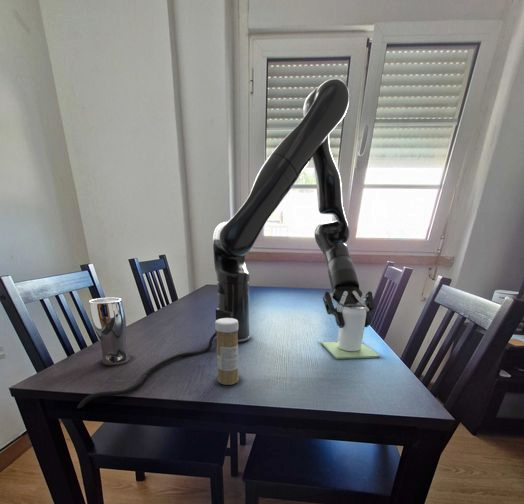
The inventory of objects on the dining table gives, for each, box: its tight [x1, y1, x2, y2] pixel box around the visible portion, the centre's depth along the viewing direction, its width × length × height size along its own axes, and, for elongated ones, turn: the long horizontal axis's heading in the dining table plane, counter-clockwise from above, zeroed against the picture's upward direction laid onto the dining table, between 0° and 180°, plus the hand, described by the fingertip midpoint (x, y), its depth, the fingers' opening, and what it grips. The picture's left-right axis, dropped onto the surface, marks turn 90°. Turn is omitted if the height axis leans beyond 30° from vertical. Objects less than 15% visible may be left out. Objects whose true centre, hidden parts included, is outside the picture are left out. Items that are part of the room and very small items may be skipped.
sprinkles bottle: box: [214, 318, 240, 386], centre depth 58 cm, size 5×5×13 cm
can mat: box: [321, 341, 381, 360], centre depth 79 cm, size 12×12×1 cm
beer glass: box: [88, 297, 131, 366], centre depth 67 cm, size 7×7×15 cm
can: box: [337, 303, 366, 352], centre depth 77 cm, size 6×6×12 cm
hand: (354, 326), depth 75 cm, fingers closed on can, 6 cm apart
